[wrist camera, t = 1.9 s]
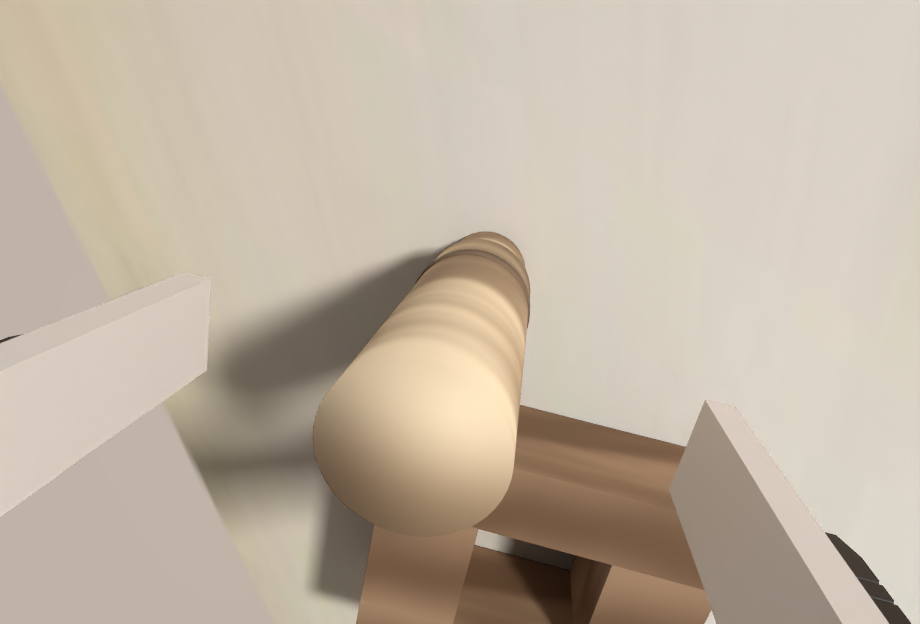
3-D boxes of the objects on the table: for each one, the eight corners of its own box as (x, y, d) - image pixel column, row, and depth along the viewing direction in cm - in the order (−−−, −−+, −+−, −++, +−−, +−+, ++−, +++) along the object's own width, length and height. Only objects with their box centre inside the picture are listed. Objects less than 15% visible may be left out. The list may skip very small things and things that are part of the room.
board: (418, 379, 26) (390, 435, 21) (712, 453, 25) (750, 530, 20) (381, 567, 30) (351, 649, 25) (631, 637, 29) (648, 736, 24)
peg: (449, 214, 23) (322, 332, 10) (543, 235, 23) (540, 387, 10) (432, 302, 24) (300, 508, 11) (520, 324, 24) (490, 560, 11)
